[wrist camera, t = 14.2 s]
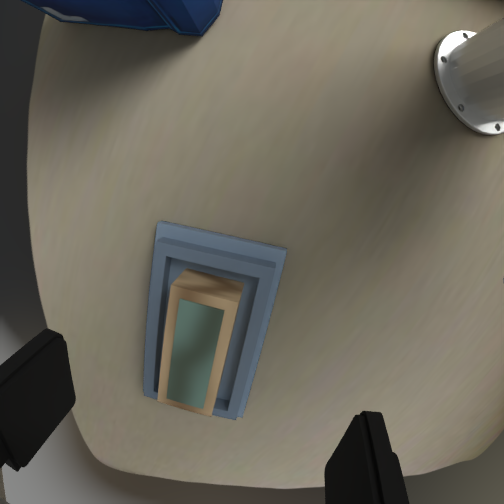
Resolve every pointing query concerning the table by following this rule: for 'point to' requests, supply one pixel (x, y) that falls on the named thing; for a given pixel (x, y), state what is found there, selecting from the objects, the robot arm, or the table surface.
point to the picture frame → (197, 339)
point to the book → (136, 13)
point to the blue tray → (249, 312)
